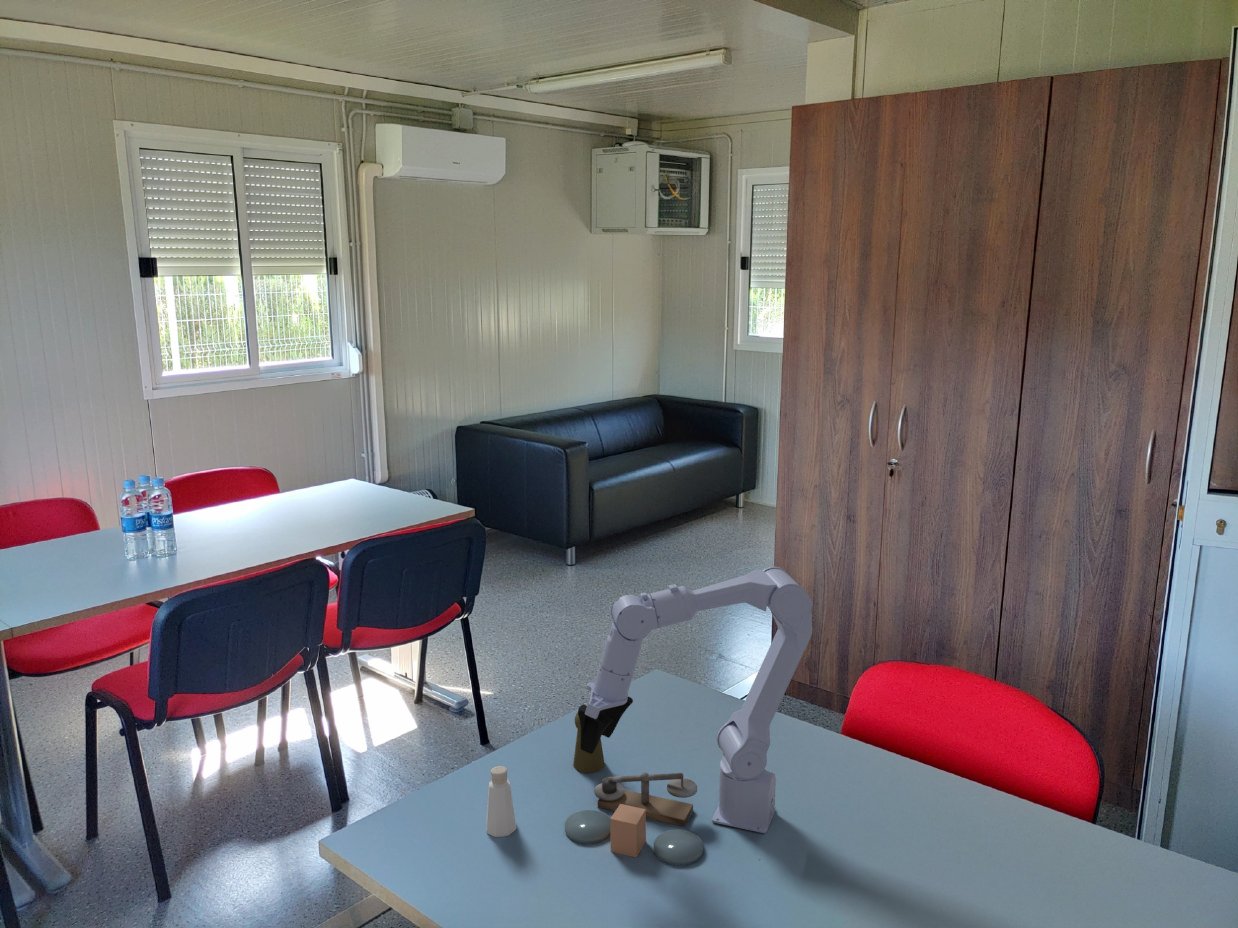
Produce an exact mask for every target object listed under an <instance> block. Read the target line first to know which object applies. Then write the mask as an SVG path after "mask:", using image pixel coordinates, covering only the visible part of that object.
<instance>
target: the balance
mask: <svg viewBox="0 0 1238 928" xmlns="http://www.w3.org/2000/svg"><path fill="white" fill-rule="evenodd" d="M652 781H669V782H668V783H667V785H666V791H667V793H668V794H669V795H671V796H673V797H676V798H682V799H683V798H685V799H686V798H690V797H693V796H695V795H696V794H697V792H698V785H697V783H696V782H695V781H693V780H691V779H689V778H684V773H683V772H675V773H674V772H673V773H657V774H649V773H648V772H642V773H641V774H640V775H639V774H637V775H622V776H621V775H617V776H606V777H604V778H603V779H602V780H601V783H599V784H597V785H596V786H595V788H594V795H595V796H596V798H598V799H597V808H600V809H605V810H608V811H613V812H615V811H616V809H617V808H618V806H619V805H620V804H624V805H628V806H633V807H637V808H642V809H646V819H650V820H655V821H660V822H663V823H668V824H672V825H677V826H682V827H685V826H686V824H687V822H688V821H689V819H690V817H691V816H692V814H693V811H694V804H693V803H689V802H685V801H679V800H676V799H675V800H673V799H669V798H665V797H661V796H656V795H650V782H652ZM632 782H640V792H638V791H637V792H636V791H631V790H627V789H625V788H624V786H623V785H622V784H621V783H632Z"/></svg>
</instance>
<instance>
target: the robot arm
mask: <svg viewBox="0 0 1238 928" xmlns="http://www.w3.org/2000/svg"><path fill="white" fill-rule="evenodd" d="M738 604H747V605H750V606H753V607H754V608H757V609H759V610H761V611H764V612H767V609H769V611H770V613H771V615H772V617H773V618H772V619H774V621H775V624H776V626H777V631H776V633H775V635H774V636H773V639H772V640H771V641H772V642H771V644H770V645H769V648H768V650H767V652H766V655H765V657H764V659H763V661H762V663H761V665H760V667H759V670H758V672H757V674H756V676H755V678H754V681H753V683H752V685H751V687H750V690H749V692H748V694H747V696H746V698H745V700H744V703H743V705H742V707H741V709H739V710H736V711H734V712H732V714H731V715H730V718H729V719H728V721H726V723H725V724H723V725H722V726H721V727H720V729H719V730H718V732H717V735H716V743H717V745H718V747H719V749H720V750H721V751H722V758H721V759H720V761H719V762H720V763H719V789H718V790H719V791H718V792H719V794H718V795H719V797H718V806H717V808H716V809H715V812H714V814H713V816H712V817H711V822H712V823H714V824H719V825H724V826H727V827H728V826H729V827H732V828H733V827H734V828H737V829H742V830H747V831H752V832H756V833H760V834H767V832H768V829H769V827H770V825H771V821H772V819H773V818H774V814H775V811H776V786H777V785H776V784H777V783H776V781H777V779H776V774H775V773H773V772H771V771H770V770H769V771H768V770H767V769H766V767H767V763H768V757H767V754H768V750H769V748H770V746H771V735H770V729H771V723H772V721H773V719H774V717H775V715H776V713H777V710H778V708H779V706H780V704H781V702H782V700H783V697H784V695H785V693H786V691H787V689H788V687H789V685H790V682H791V680H792V678H793V677H794V673H795V672H796V670H797V668H798V666H799V663H800V660H801V659H802V657H803V654H804V652H805V650H806V648H807V646H808V644H809V642H810V639H811V637H812V635H813V623H812V621H813V620H812V612H811V611H812V607H813V605H814V604H813V602H812V600H811V597H810V596H809V594H808V593H807V591H806V589H804V587H802V586H801V585H800V584H798V583H797V582H796V580H794V578H792V577H791V576H790V575H789V573H788V572H787V571H786V570H785V569H784V568H783V567H779V566H769V567H766V568H764V569H762V568H759V569H754V570H752V571H750V572H747V574H743V575H741V576H737V577H734V578H731V579H728V580H727V579H726V580H724V581H721V582H717V583H713V584H711V585H708V586H704V587H701V588H697V589H694V590H692V589H689V588H687V587H686V586H684V585H681V586H678V585H677V584H676V583H674V584H669V585H668V589H664V590H659V591H654V592H651V593H647V592H640V595H639V596H637V595H634V594H625V595H622V596H620V597H619V598H618V600H616V601H615V602H614V604H613V605H610V615H611V619H612V620H613V621H612V623H611V626H610V629H609V633H608V636H607V637H606V641H605V644H604V649H603V652H602V655H601V659H600V661H599V662H600V663H599V665H598V670H597V673H596V676H595V679H594V682H593V681H590V682H588V683H587V684H586V686H585V689H586V690H588V691H589V692H590V696H589V697H590V698H589V702H588V703H587V705H586V704H583V703H582V704H581V705H580V706H579V707H578V709H577V712H578V716H579V719H580V725H581V750H583V751H585V752H588V753H590V754H592V753H593V752H594V750H595V749H596V747H597V745H598V743H599V740H600V738H601V739H602V736H603V737H606V738H608V739H609V738H610V737H611V736H612V735H613V734H614V731H615V730H616V728H617V726H618V724H619V721H620V720H621V718H622V717H623V715H624V713H626V712H625V711H627V709H628V708H629V707H630V706H631V705H632V704H633V702H634V699H633V698H632V697H631V696H629V690H630V687H631V684H632V680H633V676H634V673H635V669H636V667H637V666H636V665H637V663H638V659H639V655H640V652H641V649H642V644H643V640H644V639H645V638H647V637H648V636H649V634H650V633H651V632H652V631H653V630H656V629H657V630H658V629H660V628H664V627H665V628H666V627H670V626H672V625H677V624H681V623H685V622H689V621H692V620H693V619H694V617H695V616H696V614H697V613H699V612H700V611H701V612H702V611H706V610H710V609H716V608H722V607H729V606H732V605H738Z"/></svg>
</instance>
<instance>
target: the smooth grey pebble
mask: <svg viewBox="0 0 1238 928" xmlns="http://www.w3.org/2000/svg"><path fill="white" fill-rule="evenodd" d="M703 852H704V843H703V840H702V839H701V838H700V836H699V835H697V834H695V833H694V832H691V831H689V830H685V829H670V830H667V831H663V832H661V833H660V834H658V835H657V836H656V838H655V839H654V842H653V853H654V855H655V856H656V857H657V858H658V860H660V861H661V862H664V863H665V864H668V865H671V866H672V865H673V866H688V865H690V864H694V863H696V862H698V861H699V860H700V859H701V858H702V856H703V854H704V853H703Z"/></svg>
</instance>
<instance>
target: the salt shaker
mask: <svg viewBox="0 0 1238 928" xmlns="http://www.w3.org/2000/svg"><path fill="white" fill-rule="evenodd" d="M490 775H491V776H490V778H491V781H489V782H488V792H487V793H488V794H487V803H486V804H487V807H486V819H485V821H486V822H485V829H486V833H487V835H490V836H492V837H494V838H500V837H502V838H503V837H508V836H510V835H511V834H513V833H514V832H516V830H517V824H516V817H515V815H516V814H515V808H514V803H513V796H512V789H511V782H510V779H508V768H507V767H506V766H504V765H498V766H494V767H493V768H491V770H490Z"/></svg>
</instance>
